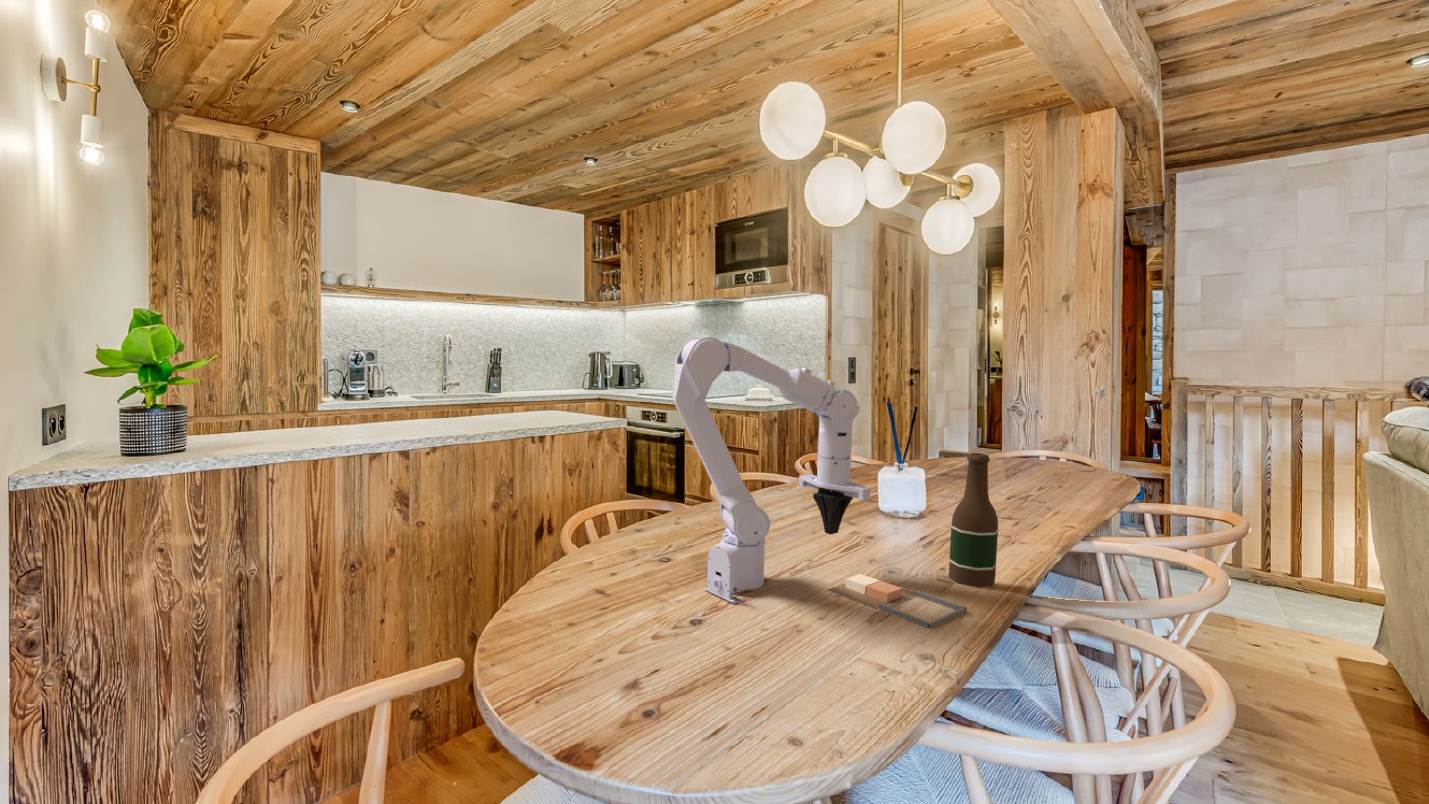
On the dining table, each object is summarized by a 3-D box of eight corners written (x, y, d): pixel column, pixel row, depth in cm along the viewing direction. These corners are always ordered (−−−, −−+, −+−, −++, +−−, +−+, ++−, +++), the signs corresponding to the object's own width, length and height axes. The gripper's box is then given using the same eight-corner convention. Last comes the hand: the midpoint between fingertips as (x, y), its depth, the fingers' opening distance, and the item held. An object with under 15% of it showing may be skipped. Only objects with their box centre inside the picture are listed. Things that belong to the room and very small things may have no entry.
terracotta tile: (886, 602, 102) (887, 593, 102) (866, 595, 105) (866, 586, 105) (901, 597, 105) (902, 588, 105) (881, 589, 108) (881, 581, 108)
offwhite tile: (864, 594, 106) (865, 585, 106) (845, 587, 109) (846, 578, 109) (879, 589, 108) (880, 580, 108) (860, 582, 111) (860, 573, 111)
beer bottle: (999, 598, 110) (1007, 458, 108) (951, 593, 111) (958, 456, 109) (989, 582, 117) (997, 452, 115) (944, 578, 119) (951, 449, 117)
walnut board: (875, 618, 100) (875, 608, 100) (826, 598, 108) (826, 589, 108) (916, 602, 107) (916, 593, 107) (867, 584, 115) (867, 576, 114)
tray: (930, 638, 93) (930, 623, 93) (878, 617, 100) (879, 604, 100) (966, 621, 99) (967, 607, 99) (915, 603, 106) (916, 590, 106)
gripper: (882, 460, 109) (879, 538, 110) (818, 449, 121) (815, 520, 122) (856, 464, 105) (853, 545, 106) (792, 452, 116) (789, 526, 117)
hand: (831, 532), depth 113 cm, fingers closed
